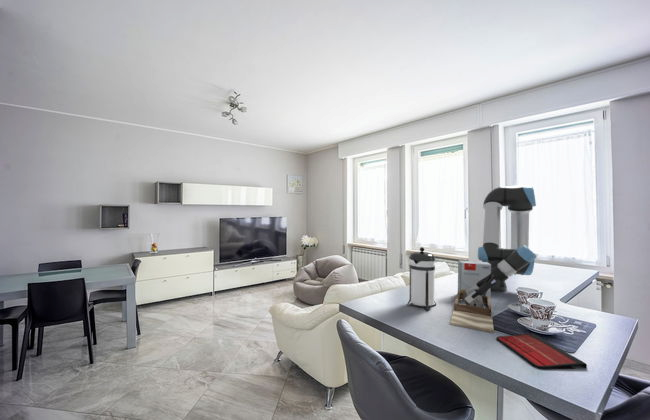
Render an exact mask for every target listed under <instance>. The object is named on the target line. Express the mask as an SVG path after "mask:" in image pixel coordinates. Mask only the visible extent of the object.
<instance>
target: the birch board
mask: <svg viewBox="0 0 650 420" xmlns="http://www.w3.org/2000/svg"><path fill="white" fill-rule="evenodd" d="M493 320H494V319H493V316H492V315H491V316H485V315H479V314H473V313H467V312H461V311H455V310H452V314H451V318H450V321H449V323H450V324H449V325H453V326H457V327H458V326H459V327H463V328H467V329H473V330H477V331H484V332H488V333H492V334H493V333H495V329H494V321H493Z"/></svg>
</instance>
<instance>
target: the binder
mask: <svg viewBox="0 0 650 420" xmlns="http://www.w3.org/2000/svg"><path fill="white" fill-rule="evenodd" d="M495 338H496V339H495V340H496V341H497V342H499V343H500V344H503V345H504V346H506V347H507V348H508V349H510V350H511V351H513V352H514V353H516V354H517V355H519V356H520V357H521V358H523V359H524V360H525V361H526V362H527V363H528V364H529V365H531V367H534V368H535V369H539V370H540V369H541V370H576V369H577V368H576V367H573V366H580V367H582V368H584V369H587V367H588V365H587V363H586V362H584V361H582V360H581V359H579V358H577V356H576V357H575V356H573V355H571V354H570V353H568V352H566V351H565V350H563V349H561V348H560V347H558V346H557V345H555V344H552V343H551V342H549V341H548V340H545V339H543V338H542V337H540V336H539V335H537V334H535V332H532V333H521V334H511V335H501V336H500V335H498V336H496V337H495Z"/></svg>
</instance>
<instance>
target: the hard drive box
mask: <svg viewBox="0 0 650 420" xmlns="http://www.w3.org/2000/svg"><path fill="white" fill-rule="evenodd" d="M457 261H458V262H457V265H458V267H457V293H458V292H459V293H463V292H464V291H466V290H469V289H470V288H472V287H473V286H474V285H476V284H477V282H479V281H480V280H482V279H483V278H485V277H486V276H488V275H489V274H490V273H491V264H489V263H488V262H482V261H476V260H460V259H459V260H457ZM482 296H488V297H490V298H491V288H490V289H489V290H488V291H486V292H485V293H484V294H483V295H482Z"/></svg>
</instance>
